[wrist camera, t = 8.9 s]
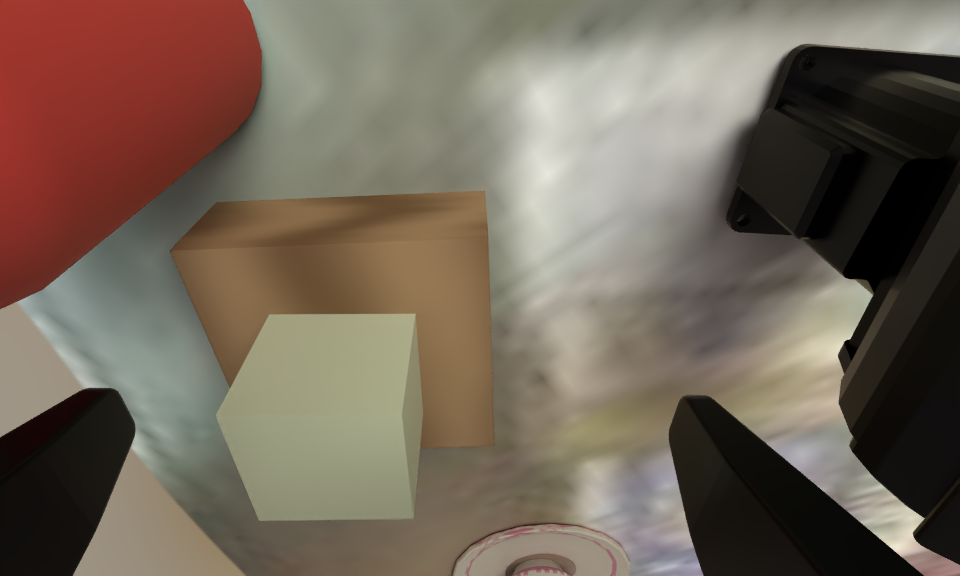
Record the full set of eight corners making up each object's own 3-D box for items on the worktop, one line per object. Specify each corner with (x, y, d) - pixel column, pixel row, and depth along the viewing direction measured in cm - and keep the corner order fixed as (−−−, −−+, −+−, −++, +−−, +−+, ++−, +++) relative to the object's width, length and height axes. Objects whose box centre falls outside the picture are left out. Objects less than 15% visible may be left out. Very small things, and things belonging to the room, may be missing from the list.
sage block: (415, 313, 17) (401, 414, 14) (423, 413, 20) (413, 518, 17) (269, 314, 17) (215, 416, 14) (297, 414, 20) (259, 520, 16)
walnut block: (484, 186, 19) (488, 237, 16) (491, 378, 25) (494, 445, 21) (220, 197, 19) (169, 250, 16) (287, 386, 25) (259, 454, 22)
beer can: (312, 75, 16) (79, 278, 6) (172, 176, 18) (-179, 455, 8) (141, -154, 13) (-845, -452, 3) (-9, -4, 15) (-939, 98, 5)
